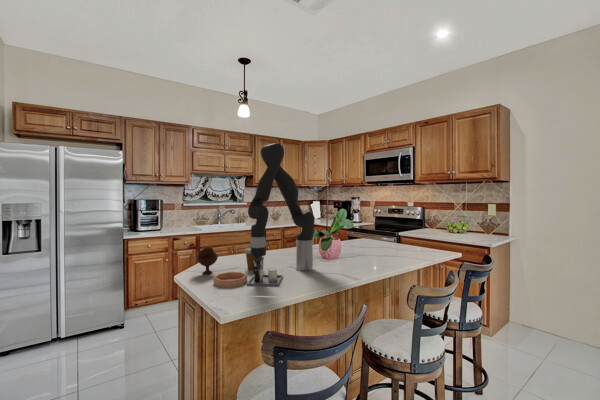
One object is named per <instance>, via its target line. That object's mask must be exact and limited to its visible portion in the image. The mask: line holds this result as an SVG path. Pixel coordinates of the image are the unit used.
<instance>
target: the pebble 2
mask: <svg viewBox="0 0 600 400" xmlns="http://www.w3.org/2000/svg"><path fill="white" fill-rule="evenodd" d="M267 275H268V282H272V283H273V282H277V275H278V269H276V268H268V270H267Z"/></svg>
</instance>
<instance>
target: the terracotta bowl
mask: <svg viewBox="0 0 600 400" xmlns="http://www.w3.org/2000/svg"><path fill="white" fill-rule="evenodd" d="M247 282H248V274H247V273H244V272H241V271H228V272H227V271H226V272H221V273H217V274H216V275H215V276H214V277H213V285H216V286H217V287H221V288H234V287H238V286H239V287H240V286H244V284H246V283H247Z"/></svg>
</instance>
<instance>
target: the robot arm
mask: <svg viewBox="0 0 600 400" xmlns="http://www.w3.org/2000/svg"><path fill="white" fill-rule="evenodd" d="M260 155H261V159H262V161H263V162H264V164H265V165H266V167H267V168H265V171H264V173H263V174H262V176H261V177H260V179H259V180H258V183H257V185H256V191H255V193H254V196H253V198H252V200H251V203H250V204H249V206H248V210H247V214H248V217H249V218H250V219H252V220H256V221H255V224H252V225H251V227H250V248H251V256H254V257H255V260H254V262H253V270H252V271H253V275H254V274H255V282H259V281H260V269H263V270H264V257H265V256H266V255H267V240H266V227H267V223H268V220H269V214H270V213H269V209H268V207H267V206H266V205H263V204H264V203H266V202H268V201H269V200H270V196H271V192H272V187H273V184H274V181H275V183H276V185H277V187H278V189H279V191H280V194H281V195H282V197H283V200H284V201H285V203H286V206H287V208H288V210H289V214H290V216H291V219H292V221H293V223H294V225H295V226H296V227H298V228H301V232H299V233H297V234H296V238H295V239H296V244H295V245H296V250H295V251H296V261H295V262H296V265H295V266H296V267H295V268H296V270H297V272H311V271H313V265H314V264H313V261H314V259H313V256H314V254H313V245H314V244H313V242H314V239H313V237H314V235H315V234H314V233H315V216H314V214H313V212H312V211H306V210H302V208H301V207H300V205H299V188H298V186H297V184H296V182H295V180H294V178H293V177H292V175H290V174H289V173H288V172H287V171H286V170H285V169H284V168H283V167H282V166H281V164H282V161H283V159H284V157H285V149H284V147H283V145H282V144H281V143H277V142H276V143H269V144H265V145H263V146H262V147H261V149H260ZM256 270H257V271H256Z"/></svg>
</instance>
